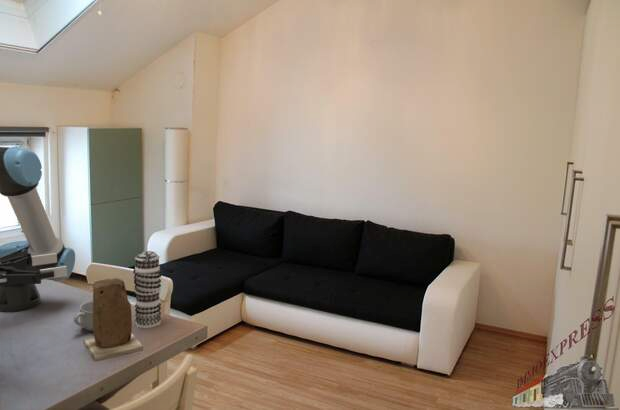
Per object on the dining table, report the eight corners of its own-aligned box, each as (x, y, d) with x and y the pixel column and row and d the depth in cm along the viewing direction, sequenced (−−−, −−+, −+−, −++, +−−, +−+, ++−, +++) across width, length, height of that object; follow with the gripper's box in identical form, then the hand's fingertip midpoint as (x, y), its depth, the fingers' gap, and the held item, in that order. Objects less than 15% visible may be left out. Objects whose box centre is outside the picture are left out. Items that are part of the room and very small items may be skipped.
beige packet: (83, 342, 163) (83, 338, 163) (129, 333, 171) (129, 329, 171) (95, 360, 152) (95, 356, 152) (143, 349, 160) (143, 345, 160)
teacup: (104, 318, 182) (103, 297, 180) (121, 327, 175) (120, 305, 174) (64, 330, 171) (63, 307, 170) (81, 340, 164) (80, 316, 163)
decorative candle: (146, 330, 173) (145, 258, 169) (128, 323, 178) (126, 253, 174) (167, 322, 181) (167, 252, 177) (149, 315, 186) (148, 248, 181)
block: (95, 350, 155) (93, 286, 152) (92, 340, 162) (90, 279, 158) (133, 344, 160) (132, 282, 157) (129, 334, 167) (128, 275, 163)
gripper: (-29, 276, 147) (53, 264, 159) (-22, 306, 127) (71, 290, 140) (-32, 250, 145) (52, 240, 158) (-25, 277, 126) (70, 263, 138)
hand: (61, 264), depth 149 cm, fingers open, 13 cm apart
